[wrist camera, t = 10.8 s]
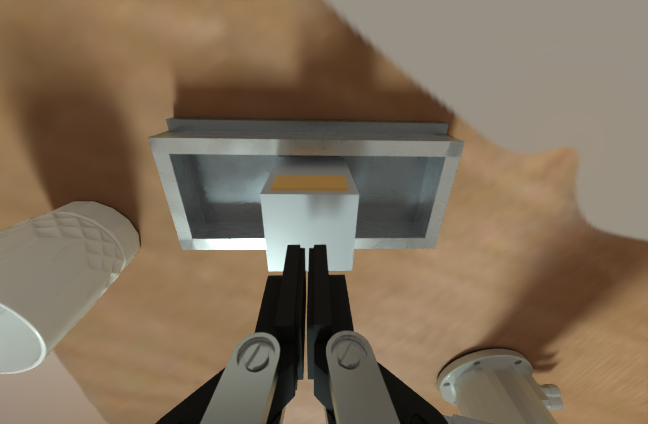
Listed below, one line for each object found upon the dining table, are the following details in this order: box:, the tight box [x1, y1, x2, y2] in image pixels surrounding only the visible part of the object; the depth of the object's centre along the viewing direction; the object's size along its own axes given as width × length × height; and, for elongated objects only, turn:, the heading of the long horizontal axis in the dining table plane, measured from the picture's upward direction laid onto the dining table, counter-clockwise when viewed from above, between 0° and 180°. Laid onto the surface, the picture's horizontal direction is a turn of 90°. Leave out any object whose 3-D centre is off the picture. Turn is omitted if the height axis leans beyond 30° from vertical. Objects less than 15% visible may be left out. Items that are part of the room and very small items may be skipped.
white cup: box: [0, 201, 140, 374], centre depth 18 cm, size 8×8×10 cm
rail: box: [148, 117, 464, 250], centre depth 19 cm, size 20×10×4 cm, turn 89°
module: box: [260, 157, 359, 271], centre depth 17 cm, size 5×5×7 cm
